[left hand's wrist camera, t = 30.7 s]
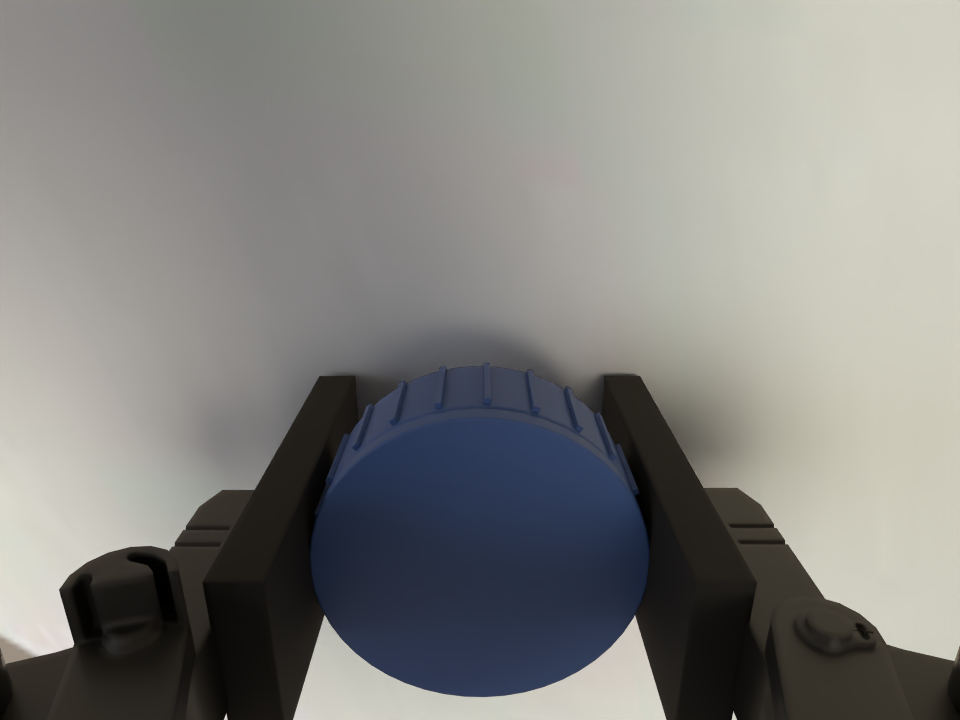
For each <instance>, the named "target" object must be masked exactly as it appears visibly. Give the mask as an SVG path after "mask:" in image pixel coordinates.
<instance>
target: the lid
mask: <svg viewBox="0 0 960 720" xmlns="http://www.w3.org/2000/svg"><path fill="white" fill-rule="evenodd" d="M326 482H327V483H326V486H325V488H324V491H323V494H322V496H321V499H320V501H319V504H318V506H317V509H316V511H315V514H314V517H315V523H314V527H313V531H312V535H311V542H310V561H311V571H312V579H313V586H314V590H315V594H316V596H317V599H318V601H319V604H320V606H321V609H322V611H323V612H324V614H325V616H326V617H327V619H328V621H329V623H330V624H331V626H332V627H333V628H334V630H335V631H336V632H337V634H338V635H339V636H340V637H341V639H342V640H343V641H344V642H345V643H346V644H347V645H348V646H349V647H350V648H351V649H352V650H353V651H354V652H355V653H356V654H358V655H359V656H360V657H362V658H363V659H364V660H365V661H367V662H368V663H369V664H371V665H372V666H374V667H375V668H377V669H379V670H380V671H382V672H384V673H385V674H387V675H389V676H391V677H393V678H396V679H398V680H400V681H402V682H404V683H407V684H410V685H413V686H416V687H419V688H422V689H425V690H429V691H433V692H438V693H442V694H448V695H456V696H465V697H492V696H505V695H511V694H517V693H523V692H527V691H531V690H534V689H538V688H541V687H545V686H547V685H550V684H552V683H555V682H557V681H560V680H563V679H565V678H566V677H568V676H570V675H572V674H574V673H576V672H578V671H580V670H581V669H583V668H584V667H586V666H587V665H589V664H590V663H592V662H593V661H595V660H596V659H597V658H598V657H600V656H601V655H602V654H603V653H604V652H605V651H606V650H608V649H609V648H610V647H611V646H612V645H613V644H614V643H615V641H616V640H617V639H618V638H619V637H620V636H621V635H622V634H623V632H624V631H625V629H626V628H627V626H628V625H629V624H630V622H631V621H632V619H633V618H634V616H635V614H636V611H637V609H638V607H639V605H640V603H641V601H642V598H643V595H644V592H645V589H646V584H647V575H648V567H649V557H650V544H649V538H648V532H647V527H646V524H645V521H644V518H643V515H642V512H641V509H640V507H639V504H638V502H637V499H636V497H635V495H637V494H639V493H640V492H639V490H638V487H637V485H636V482H635V480H634V477H633V475H632V472H631V470H630V467H629V465H628V462H627V460H626V457H625V455H624V452H623V450H622V447H621V445H620V444H618V445H615V444H614V442H613V440H612V438H611V436H610V434H609V432H608V431H607V428H606V426H605V423H604V420H603V418H602V415H601V414H600V413H599V412H598V413H596V414H594V413H593V412H592V411H591V410H590V409H589V408H588V407H587V406H586V405H585V404H584V403H582V402H581V401H580V400H579V399H577V398H576V397H575V396H574V395H573V392H572V389H570V388H569V387H566V388H565V389H563V388H561V387H559V386H557V385H556V384H554V383H552V382H549V381H547V380H545V379H542V378H540V377H538V376H535V375H534V373H533V371H532V370H527V372H526V373H525V372H522V371H518V370H513V369H506V368H500V367H490V363H484V365H483V366H472V367H461V368H452V369H448V370H447V369H446V366H443V367H440V369H439V371H438V372H434V373H431V374H428V375H425V376H423V377H420V378H417V379H414V380H412V381H410V382H408V383H406V382H405V380H403V381H401V382H400V383H399V386H398V388H397V389H395V390H394V391H392V392H391V393H389V394H388V395H386V396H385V397H383V398H382V399H381V400H380V401H379V402H377V403H376V404H375V405H374V406H373V405H372V404H369V405H368V406H367V407H366V409H365V412H364V414H363V417H362V419H361V420H360V421H359V422H358V423H357V424H356V426H355V427H354V429H353V431H352V432H351V434H350V435H348V434H345V435H344V437H343V439H342V441H341V444H340V446H339V449H338V451H337V454H336V456H335V459H334V461H333V464H332V466H331V469H330V471H329V474H328V476H327V479H326Z"/></svg>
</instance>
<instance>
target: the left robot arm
mask: <svg viewBox="0 0 960 720" xmlns="http://www.w3.org/2000/svg"><path fill="white" fill-rule="evenodd" d="M602 418H603V420H604V423H605V426H606V428H607V431H608V432H609V434H610V436H611V438H612V440H613V442H614V444H615V445H618V444H620V445H621V447H622V450H623V452H624V455H625V457H626V460H627V462H628V465H629V467H630V470H631V472H632V475H633V477H634V480H635V482H636V485H637V487H638V490H639V492H640V493H639V494H637V495H635V497H636V499H637V502H638V504H639V507H640V509H641V512H642V515H643V518H644V521H645V524H646V527H647V532H648V538H649V544H650V557H649V567H648V575H647V584H646V589H645V592H644V595H643V598H642V601H641V603H640V605H639V607H638V609H637V611H636V614H635V616H636V619H637V623H638V626H639V629H640V633H641V636H642V639H643V643H644V646H645V649H646V653H647V656H648V659H649V663H650V666H651V669H652V673H653V676H654V679H655V683H656V686H657V689H658V693H659V696H660V699H661V703H662V706H663V709H664V713H665V716H666V719H667V720H732V715H733V711H734V713H735V716H736V718H737V720H960V647H959V650H958V653H957V656H956V659H955V661H951V660H947V659H942V658H938V657H933V656H929V655H925V654H920V653H916V652H912V651H907V650H903V649H900V648H896V647H893V646H890V645H886V643H885V641H884V639H883V638H882V636H881V635H880V633H879V632H878V630H877V628H876V627H875V626H873V625H872V624H871V623H870V622H869V621H868V620H866V619H865V618H864V617H863V616H862V615H860V614H859V613H857V612H855V611H853V610H851V609H849V608H847V607H846V606H844V605H842V604H840V603H837V602H833V601H830V600H826V599H825V598H824V597H823V595H822V594H821V592H820V591H819V589H818V588H817V586H816V585H815V583H814V582H813V581H812V579H811V578H810V576H809V575H808V573H807V572H806V570H805V569H804V567H803V566H802V565H801V563H800V562H799V560H798V559H797V557H796V556H795V554H794V553H793V551H792V550H791V548H790V547H789V546H788V545H785V540H784V538H783V537H782V535H781V534H780V532H779V531H778V529H777V528H774V524H773V522H772V521H771V519H770V518H769V516H768V515H767V513H766V512H765V511H764V509H763V508H762V506H761V505H760V504H759V503H757V502H756V501H755V500H753V499H752V498H750V497H749V496H748V495H746V494H745V493H744V492H742V491H741V490H739V489H738V488H703V486H702V484H701V483H700V481H699V479H698V477H697V476H696V474H695V472H694V470H693V469H692V467H691V465H690V463H689V462H688V460H687V458H686V456H685V455H684V453H683V451H682V449H681V448H680V446H679V444H678V442H677V441H676V439H675V437H674V435H673V434H672V432H671V430H670V428H669V427H668V425H667V423H666V421H665V419H664V418H663V416H662V414H661V412H660V411H659V409H658V407H657V405H656V404H655V402H654V400H653V398H652V397H651V395H650V393H649V391H648V390H647V388H646V386H645V384H644V383H643V381H642V379H641V377H640V376H605V377H604V390H603V404H602ZM357 423H358V410H357V397H356V383H355V376H320V377H319V378H318V380H317V382H316V384H315V385H314V387H313V389H312V391H311V392H310V394H309V396H308V398H307V399H306V401H305V403H304V405H303V406H302V408H301V410H300V412H299V413H298V415H297V417H296V419H295V420H294V422H293V424H292V426H291V427H290V429H289V431H288V433H287V434H286V436H285V438H284V440H283V441H282V443H281V445H280V447H279V448H278V450H277V452H276V454H275V455H274V457H273V459H272V461H271V462H270V464H269V466H268V468H267V469H266V471H265V473H264V475H263V477H262V478H261V480H260V482H259V484H258V485H257V487H256V489H255V490H222V491H221V492H219V493H218V494H216V495H215V496H214V497H212V498H211V499H210V500H208V501H207V502H205V503H204V504H203V505H201V506H200V507H199V508H198V509H197V511H196V512H195V514H194V515H193V517H192V518H191V520H190V521H189V523H188V524H187V526H186V530H183V532H182V533H181V534H180V536H179V537H178V539H177V540H176V542H175V547H172V548H171V549H170V551H168V550H165V549H161V548H157V547H153V546H142V547H129V548H125V549H121V550H117V551H113V552H109V553H107V554H104V555H102V556H100V557H98V558H96V559H94V560H91V561H89V562H87V563H86V564H84V565H83V566H82V567H80V568H79V569H78V570H76V571H75V572H74V573H72V574H71V575H70V576H69V577H68V578H67V580H66V581H65V582H64V584H63V585H62V587H61V588H60V589H59V591H60V595H61V598H62V602H63V605H64V609H65V612H66V616H67V619H68V623H69V626H70V630H71V633H72V637H73V640H74V646H73V647H72V648H69V649H66V650H63V651H59V652H56V653H51V654H47V655H43V656H38V657H34V658H30V659H25V660H21V661H17V662H13V663H8V664H5V661H4V658H3V655H2V652H1V649H0V720H224V718H225V715H226V713H227V718H228V720H293V718H294V714H295V711H296V708H297V704H298V701H299V698H300V694H301V691H302V688H303V684H304V681H305V678H306V674H307V671H308V668H309V664H310V661H311V658H312V654H313V651H314V648H315V644H316V641H317V638H318V634H319V631H320V628H321V624H322V621H323V618H324V612H323V611H322V609H321V606H320V604H319V601H318V599H317V596H316V594H315V590H314V586H313V579H312V571H311V561H310V542H311V535H312V531H313V527H314V523H315V517H314V514H315V511H316V509H317V506H318V504H319V501H320V499H321V496H322V494H323V491H324V488H325V486H326V483H327V482H326V479H327V476H328V474H329V471H330V469H331V466H332V464H333V461H334V459H335V456H336V454H337V451H338V449H339V446H340V444H341V441H342V439H343V437H344V435H345V434H348V435H350V434H351V432H352V431H353V429H354V427H355V426H356V424H357Z"/></svg>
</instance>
